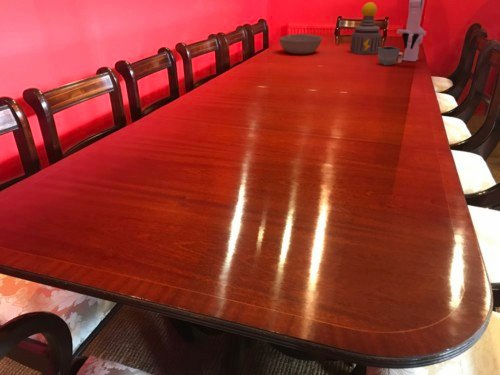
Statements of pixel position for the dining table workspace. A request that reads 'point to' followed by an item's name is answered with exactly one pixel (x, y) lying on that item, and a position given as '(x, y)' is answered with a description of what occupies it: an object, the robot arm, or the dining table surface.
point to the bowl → (300, 43)
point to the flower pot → (388, 55)
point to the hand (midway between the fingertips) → (408, 48)
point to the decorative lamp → (366, 33)
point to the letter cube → (399, 57)
